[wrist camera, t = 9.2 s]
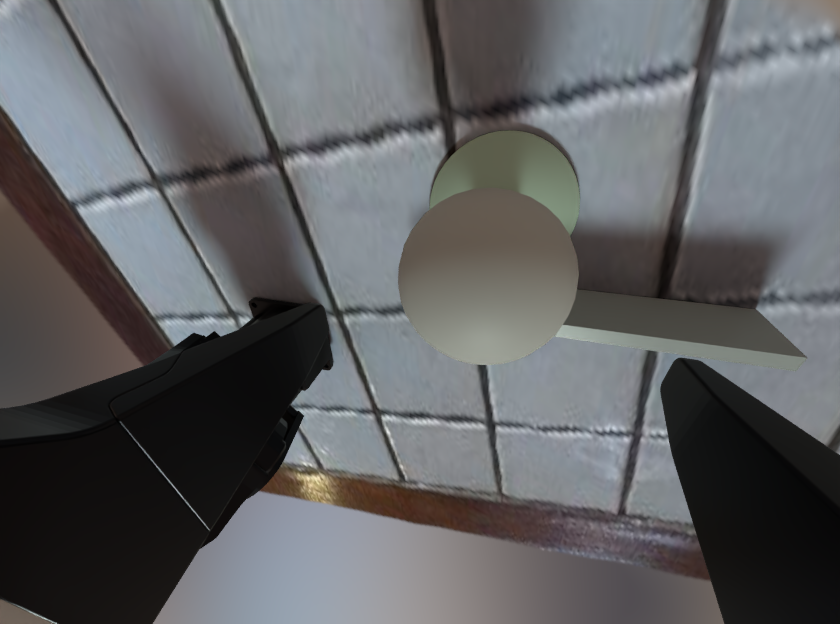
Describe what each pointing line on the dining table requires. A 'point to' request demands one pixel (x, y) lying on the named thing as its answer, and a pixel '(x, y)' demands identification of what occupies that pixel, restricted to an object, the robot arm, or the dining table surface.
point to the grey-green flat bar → (680, 329)
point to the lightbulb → (488, 276)
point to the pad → (513, 172)
